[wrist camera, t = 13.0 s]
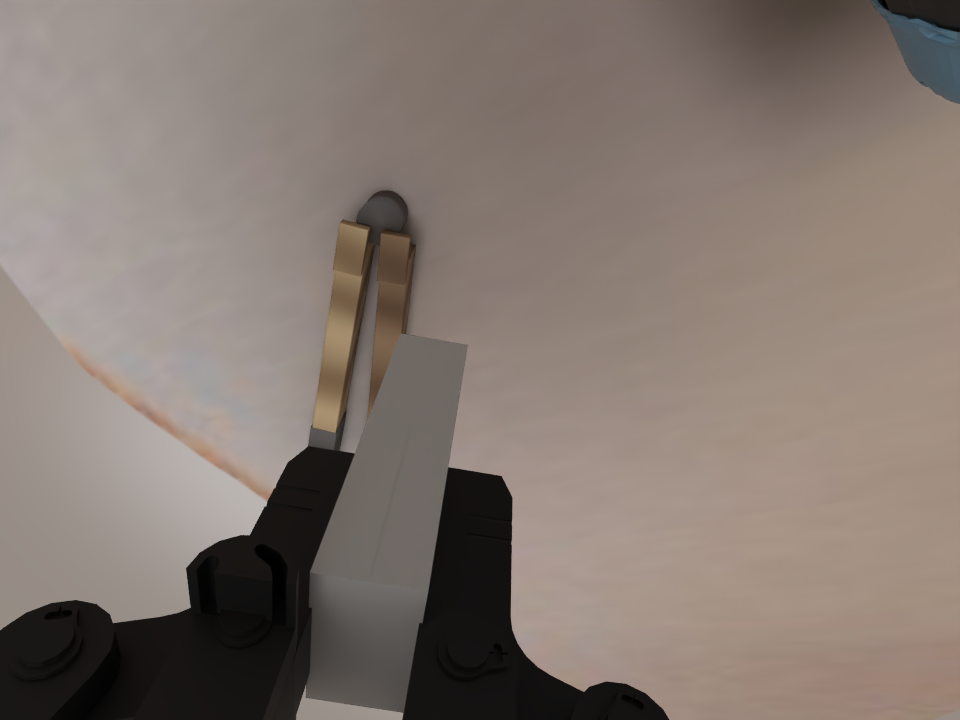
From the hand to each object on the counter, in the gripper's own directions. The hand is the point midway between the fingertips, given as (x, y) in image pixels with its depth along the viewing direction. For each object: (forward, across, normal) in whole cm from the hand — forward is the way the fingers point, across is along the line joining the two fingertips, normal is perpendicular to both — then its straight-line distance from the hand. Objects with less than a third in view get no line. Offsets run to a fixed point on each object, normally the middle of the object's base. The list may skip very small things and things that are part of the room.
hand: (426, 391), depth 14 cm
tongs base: (+28, -6, -15) cm, 33 cm away
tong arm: (+28, -8, -16) cm, 33 cm away
